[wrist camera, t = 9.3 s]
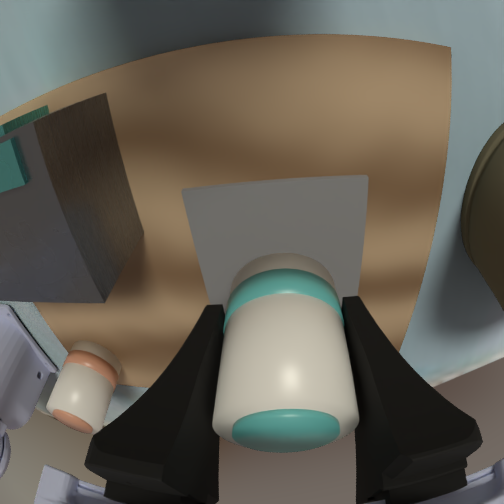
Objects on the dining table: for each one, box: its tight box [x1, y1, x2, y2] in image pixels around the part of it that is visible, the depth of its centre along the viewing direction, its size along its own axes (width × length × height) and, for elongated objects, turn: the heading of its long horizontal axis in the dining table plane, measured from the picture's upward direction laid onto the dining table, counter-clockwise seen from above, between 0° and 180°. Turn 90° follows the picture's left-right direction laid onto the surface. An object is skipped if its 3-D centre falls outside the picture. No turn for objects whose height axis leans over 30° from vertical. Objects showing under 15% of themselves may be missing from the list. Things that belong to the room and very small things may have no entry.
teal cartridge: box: [212, 253, 359, 453], centre depth 11 cm, size 4×4×6 cm
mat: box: [181, 175, 369, 315], centre depth 15 cm, size 8×8×1 cm
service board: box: [0, 34, 451, 388], centre depth 17 cm, size 23×26×1 cm
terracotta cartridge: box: [46, 340, 122, 434], centre depth 20 cm, size 4×4×6 cm
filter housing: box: [0, 93, 144, 303], centre depth 11 cm, size 7×11×5 cm
